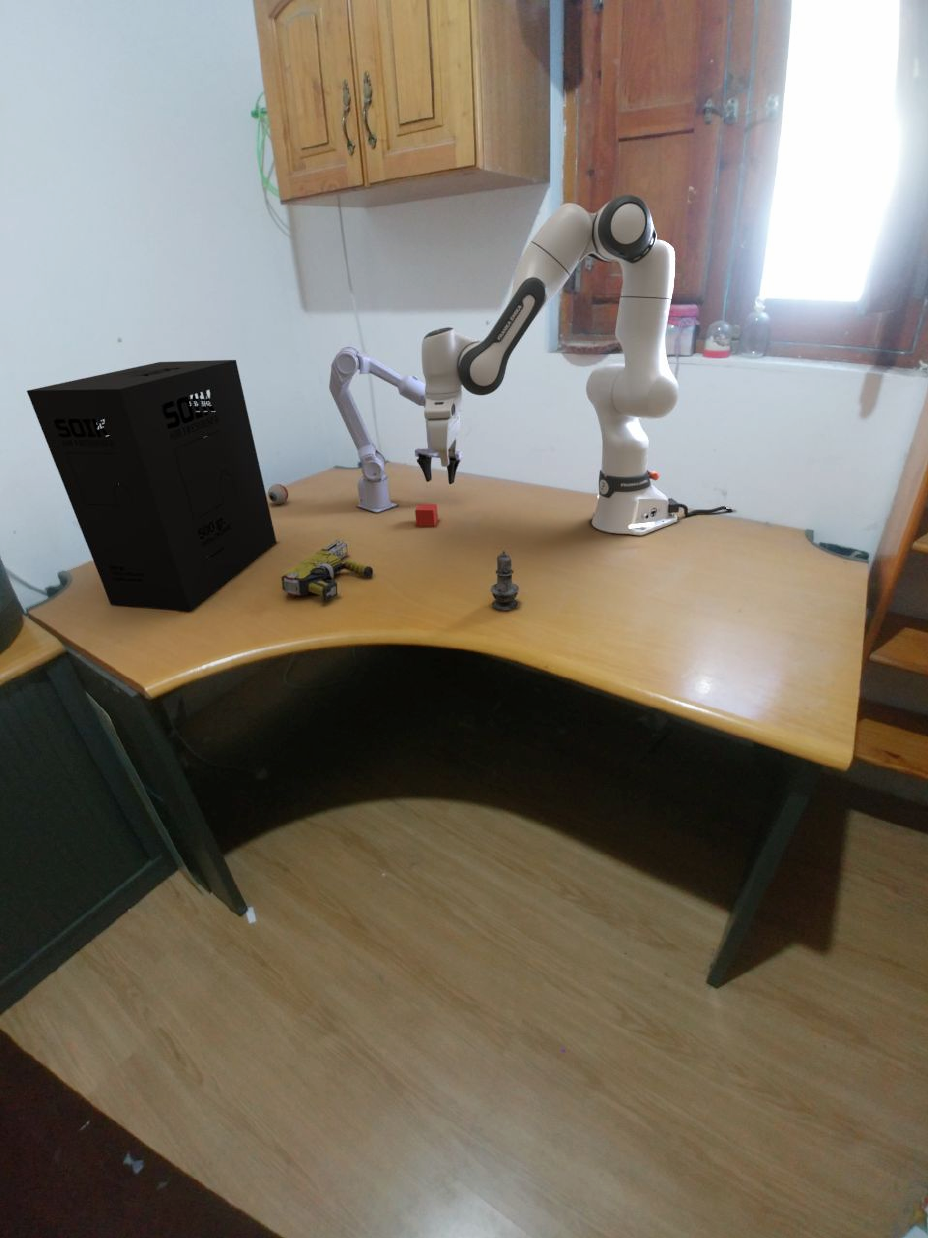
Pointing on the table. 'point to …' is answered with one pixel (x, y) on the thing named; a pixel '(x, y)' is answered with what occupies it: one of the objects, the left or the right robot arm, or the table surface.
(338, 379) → the left robot arm
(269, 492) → the eyeball
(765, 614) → the table surface
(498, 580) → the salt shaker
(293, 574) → the toy gun
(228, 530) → the cardboard box
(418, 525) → the cube
